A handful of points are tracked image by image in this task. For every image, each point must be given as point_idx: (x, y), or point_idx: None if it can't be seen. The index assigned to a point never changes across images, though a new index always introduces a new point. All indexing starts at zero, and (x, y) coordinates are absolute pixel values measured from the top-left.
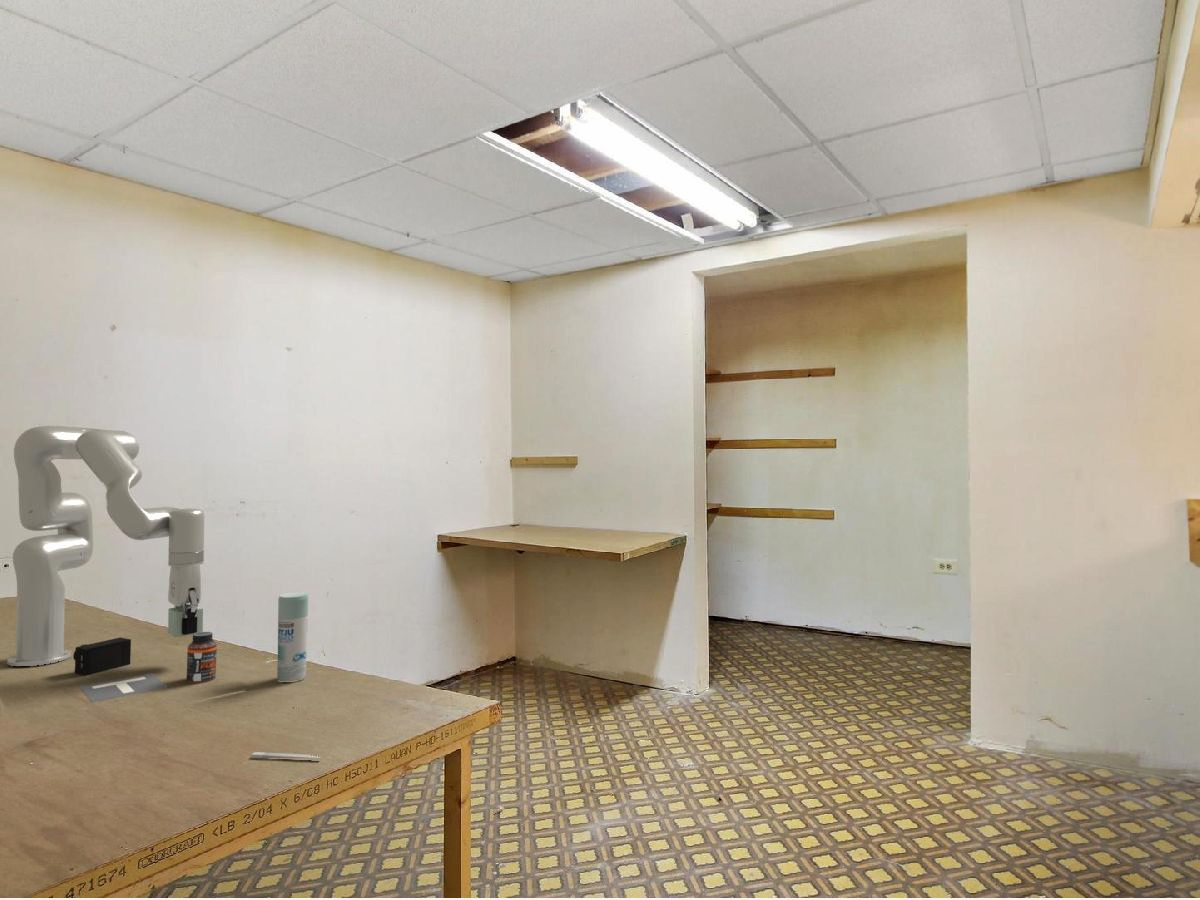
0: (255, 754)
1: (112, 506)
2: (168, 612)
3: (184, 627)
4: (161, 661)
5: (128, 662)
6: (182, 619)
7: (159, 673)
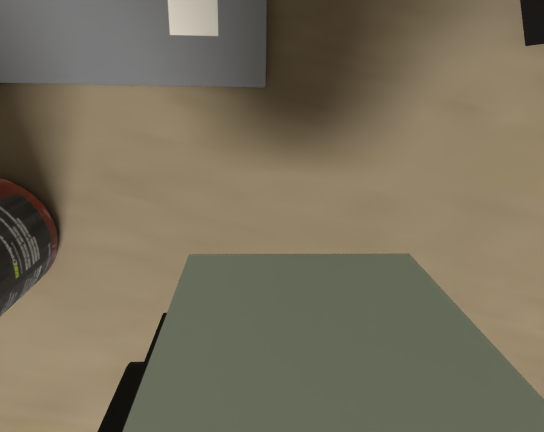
0: None
1: None
2: (532, 389)
3: None
4: (489, 190)
5: (542, 32)
6: (121, 422)
7: (280, 127)
